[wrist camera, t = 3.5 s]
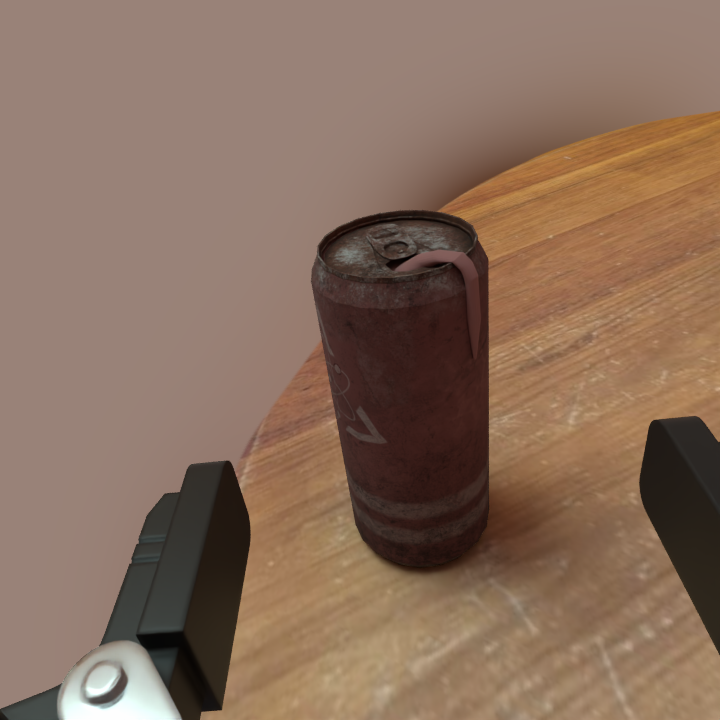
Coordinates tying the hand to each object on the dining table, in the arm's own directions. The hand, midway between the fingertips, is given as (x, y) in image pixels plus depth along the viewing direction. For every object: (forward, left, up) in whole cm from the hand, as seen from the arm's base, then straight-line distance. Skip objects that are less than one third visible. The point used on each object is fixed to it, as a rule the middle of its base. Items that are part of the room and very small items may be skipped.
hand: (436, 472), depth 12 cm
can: (+6, +9, -14) cm, 18 cm away
